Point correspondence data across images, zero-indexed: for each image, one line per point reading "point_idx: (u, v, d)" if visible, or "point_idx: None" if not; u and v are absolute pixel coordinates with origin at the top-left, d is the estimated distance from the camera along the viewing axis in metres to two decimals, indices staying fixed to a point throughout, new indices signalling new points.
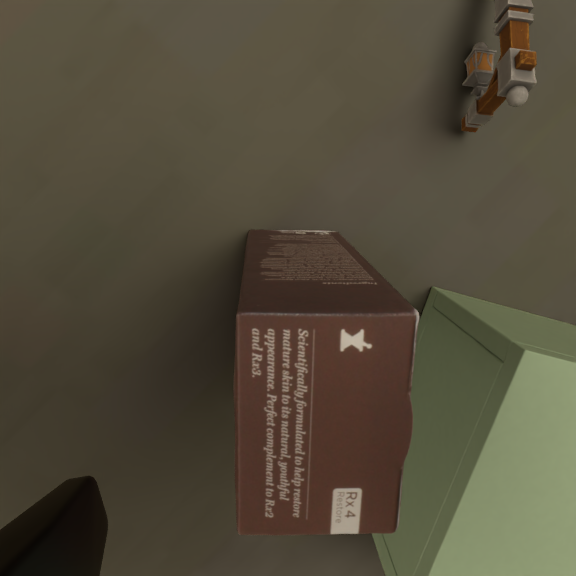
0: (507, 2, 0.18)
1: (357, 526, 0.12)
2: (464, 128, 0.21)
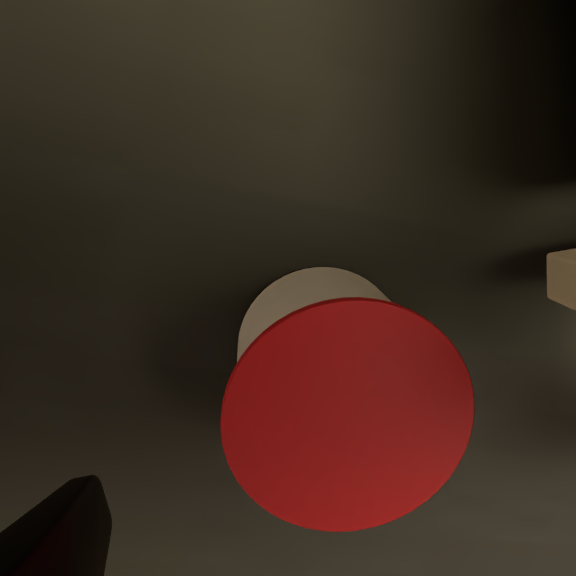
0: None
1: None
2: None
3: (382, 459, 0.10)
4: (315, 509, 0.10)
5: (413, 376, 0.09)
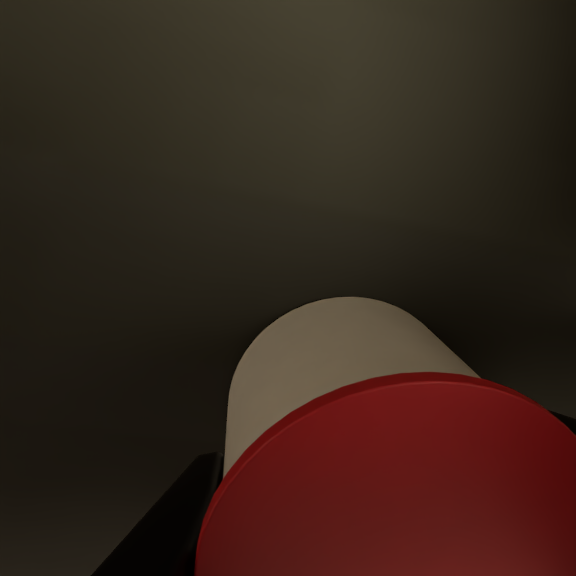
0: None
1: None
2: None
3: None
4: None
5: (518, 500, 0.05)
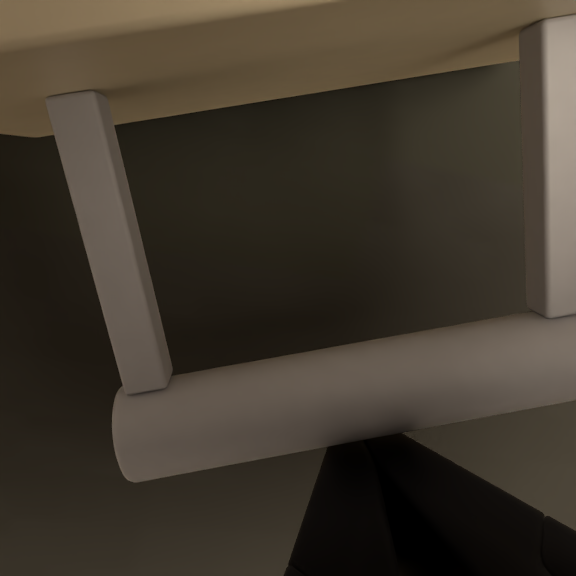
0: None
1: None
2: None
3: None
4: None
5: None
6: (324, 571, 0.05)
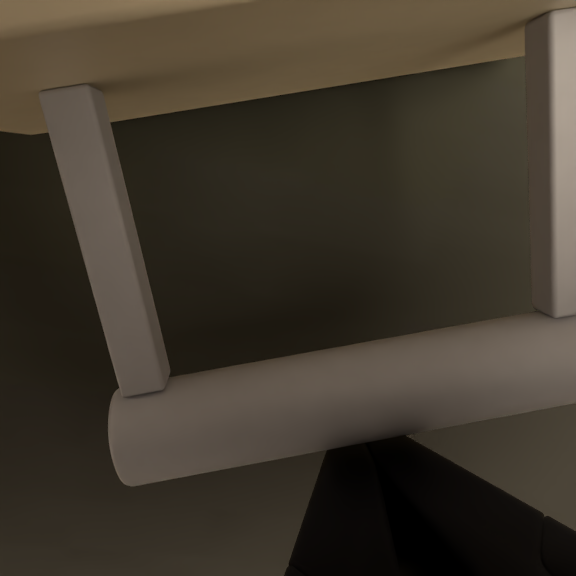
0: None
1: None
2: None
3: None
4: None
5: None
6: (324, 571, 0.05)
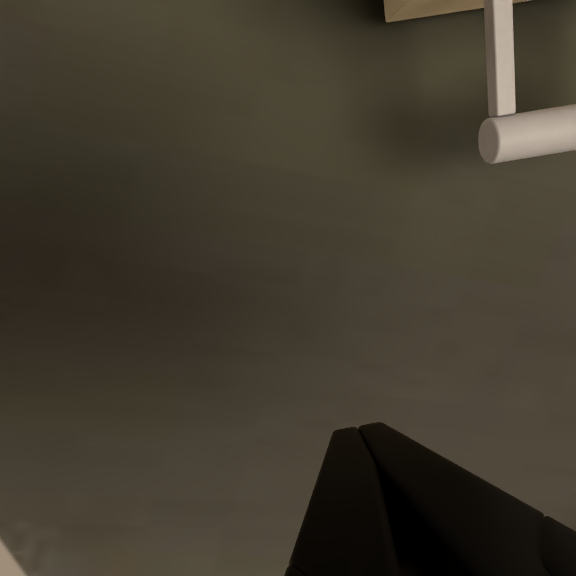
0: None
1: None
2: None
3: None
4: None
5: None
6: (325, 571, 0.05)
